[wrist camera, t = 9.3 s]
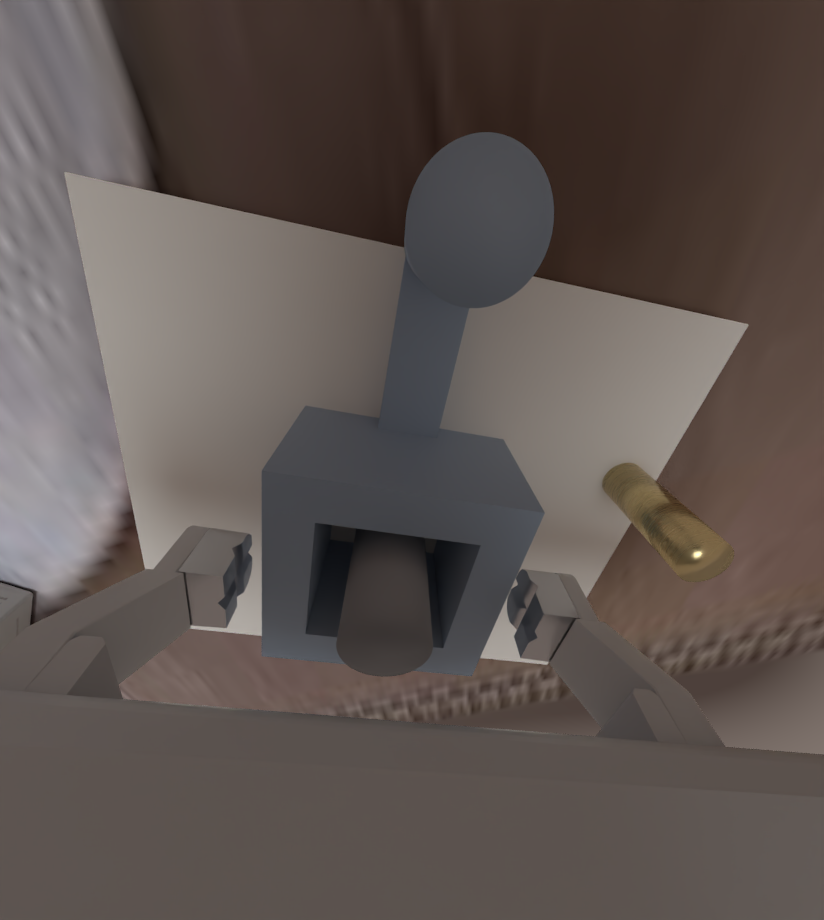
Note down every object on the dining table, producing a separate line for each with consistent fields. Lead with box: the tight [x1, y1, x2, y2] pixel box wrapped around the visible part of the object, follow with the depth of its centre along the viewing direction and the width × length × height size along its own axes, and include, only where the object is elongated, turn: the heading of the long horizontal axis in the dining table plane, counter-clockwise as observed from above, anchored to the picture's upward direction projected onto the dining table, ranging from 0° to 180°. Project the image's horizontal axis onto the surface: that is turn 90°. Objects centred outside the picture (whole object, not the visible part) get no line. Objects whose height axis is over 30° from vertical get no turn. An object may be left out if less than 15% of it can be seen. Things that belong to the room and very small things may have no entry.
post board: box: [64, 172, 749, 676], centre depth 11 cm, size 16×18×7 cm
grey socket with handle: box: [262, 132, 554, 676], centre depth 10 cm, size 12×6×5 cm, turn 169°
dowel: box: [602, 463, 734, 582], centre depth 11 cm, size 1×1×4 cm
